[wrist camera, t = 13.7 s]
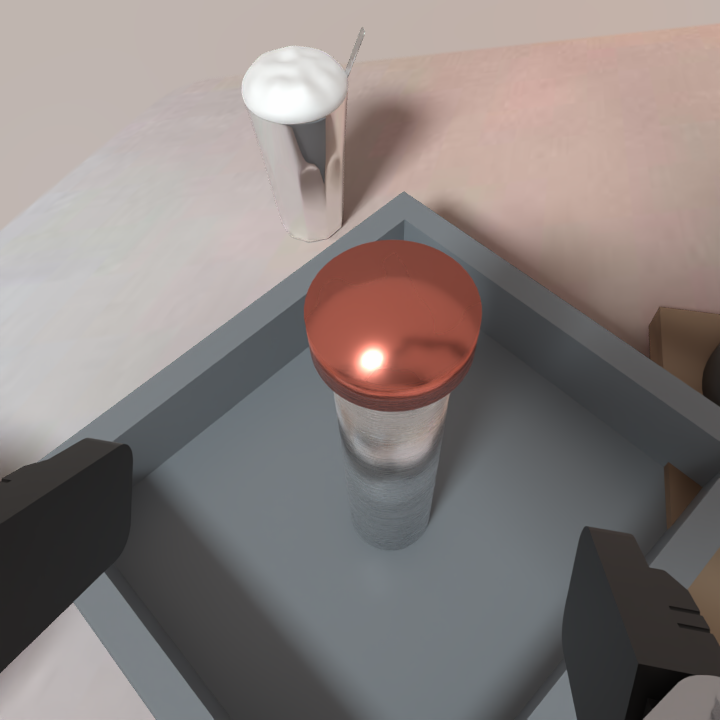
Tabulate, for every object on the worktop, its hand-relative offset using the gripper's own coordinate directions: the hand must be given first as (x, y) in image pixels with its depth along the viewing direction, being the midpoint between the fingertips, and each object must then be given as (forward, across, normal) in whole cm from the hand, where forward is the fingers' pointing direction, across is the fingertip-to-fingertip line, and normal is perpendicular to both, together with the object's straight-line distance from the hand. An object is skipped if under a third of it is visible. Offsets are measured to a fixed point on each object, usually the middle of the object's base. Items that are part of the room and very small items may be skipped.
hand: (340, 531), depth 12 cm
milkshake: (+25, +6, -4) cm, 26 cm away
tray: (+14, 0, +6) cm, 15 cm away
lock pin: (+13, 0, +6) cm, 14 cm away
